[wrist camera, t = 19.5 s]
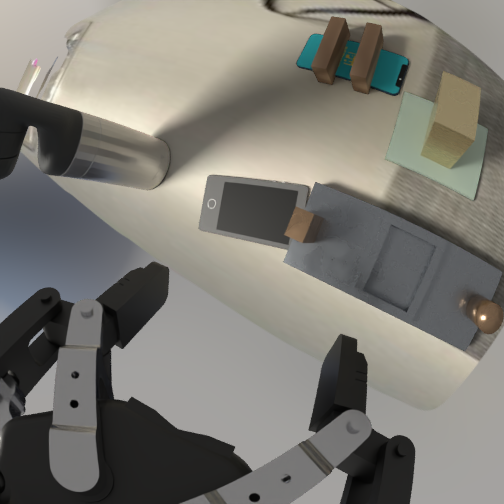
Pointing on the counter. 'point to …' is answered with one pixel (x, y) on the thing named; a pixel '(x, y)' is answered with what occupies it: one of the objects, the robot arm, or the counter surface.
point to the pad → (411, 143)
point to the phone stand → (334, 48)
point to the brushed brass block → (452, 121)
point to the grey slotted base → (394, 266)
